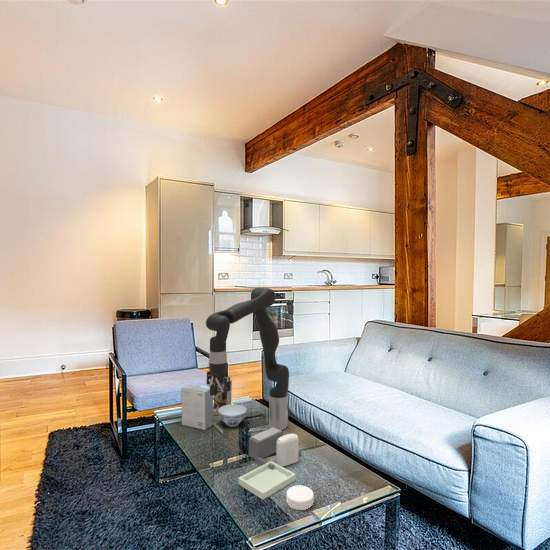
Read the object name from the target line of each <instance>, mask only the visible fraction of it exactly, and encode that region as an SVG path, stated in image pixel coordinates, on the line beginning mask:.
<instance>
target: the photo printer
mask: <svg viewBox="0 0 550 550" xmlns="http://www.w3.org/2000/svg"><path fill="white" fill-rule="evenodd" d="M298 450H299V436H298V435H297V434H296V433H286V434H283V436H282V437H280V438H278V439H277V444H276V452H275V453H276V454H275V456H276V457H275V458H276V459H275V463H276V464H278V465H279V466H281V467H283V468H285V467H286V466H289V465H292V464H296V463H298V462H299V456H298Z"/></svg>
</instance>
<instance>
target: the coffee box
mask: <svg viewBox="0 0 550 550" xmlns="http://www.w3.org/2000/svg"><path fill="white" fill-rule="evenodd" d="M223 384H224V383H223ZM223 384H221V385H223ZM232 385H233V384H232V380H230V387H231V390H230V391H227V400H225V401H222V391H221V388H219V386H218V385H217V384H215V395H213V411H218V410H219V408H220V407H222V406H225V405H231V404H232V390H233V389H232ZM227 388H228V386H227ZM223 389H224V387H223Z"/></svg>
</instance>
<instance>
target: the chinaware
mask: <svg viewBox="0 0 550 550" xmlns="http://www.w3.org/2000/svg"><path fill="white" fill-rule="evenodd" d="M217 411H218V415H219V417H220V420H221V421H222V422H223V423H225V425H226V426H227V427H238V425H240V423H241V422H242V421H243V420H244V419H245V417H246V414H247V411H248V409H247V407H246V406H245V405H241V404H237V403H236V404H233V403H231V405H225V406H222V407H220V408H219V410H217Z"/></svg>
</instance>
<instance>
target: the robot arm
mask: <svg viewBox="0 0 550 550" xmlns="http://www.w3.org/2000/svg"><path fill="white" fill-rule="evenodd" d="M275 302H276V292H275V291H274V290H273V289H271V288H268V287H255V288H253V289H252V290H251V293H250V299H249V300H246V301H242V302H238V303H236V304H233V305H232V306H229V307H228V308H226V309H224V310H219V311H217V312H214V313H212V314H209V316H207V318H206V320H205V325H206V328H207V329H208V330H210V331H214V332H216V334H215V336H212V337H211V338H209V355H208V361H209V362H208V363H209V367H208V369H209V370H208V371H206V386H207V385H208V387H210V395H211V396H213V397H214V395H215V384H217V385H218V386H219V388H221V391H222V401H225V400H227V391H230V390H231V387H230V381H231V376H226V372H227V371H228V361H227V360H228V358H227V356H228V353H227V340H228V335H229V331H230V327H231V324H235V323H237V322H238V321H240V320H241V319H244V318H245V317H247V316H249V315H251V314H255V318H256V322H257V327H258V332H259V338H260V342H261V347H262V351H263V352H262V353H263V357H264V366H265V367H264V368H265V375H266V378H267V379H268V380H269V381H271V382H274V383H276V385H275V386H274V387H271V388H270V389H269V392H268V393H269V394H268V395H269V396H268V399H269V400H268V402H269V403H268V429H270V428H272V427H274V428H276V429H279V430H281V431H282V430H283V431H285V430H286V429H287V428H286V427H287V426H288V427H289V409H288V408H287V406H288V391H289V384H290V383H289V382H290V370H289V367H288V366H286V365H285V364H280V363H277V359H276V351H277V349H278V347H279V343H280V337H279V332H278V327H277V325H276V324H275V322H274V321H273V319H272V318H271V317H270V316H269V314H268V311H267V310H266V308H268V307H272V306H273V305H274V304H275ZM223 383H224V384H223ZM221 384H223V385H221ZM227 386H228V388H227ZM223 387H224V389H223ZM284 429H285V430H284Z"/></svg>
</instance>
